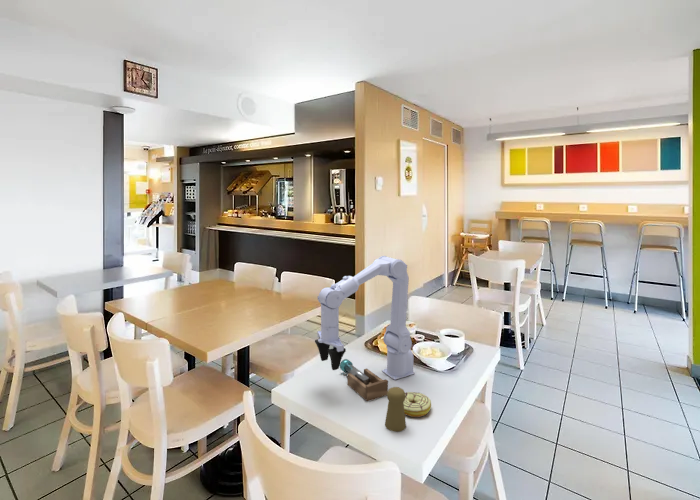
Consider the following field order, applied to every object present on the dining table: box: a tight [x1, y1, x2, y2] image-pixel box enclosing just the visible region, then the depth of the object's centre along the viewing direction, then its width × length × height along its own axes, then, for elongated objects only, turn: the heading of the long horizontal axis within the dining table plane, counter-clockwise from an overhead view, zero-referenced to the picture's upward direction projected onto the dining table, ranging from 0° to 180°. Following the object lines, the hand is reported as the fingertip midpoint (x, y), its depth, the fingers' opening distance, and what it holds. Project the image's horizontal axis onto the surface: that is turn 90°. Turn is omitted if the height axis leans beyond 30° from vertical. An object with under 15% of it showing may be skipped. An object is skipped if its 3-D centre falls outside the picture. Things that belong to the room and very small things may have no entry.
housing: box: [346, 368, 389, 403], centre depth 128 cm, size 13×8×5 cm, turn 31°
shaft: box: [339, 358, 370, 385], centre depth 134 cm, size 14×4×4 cm, turn 31°
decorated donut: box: [403, 391, 432, 418], centre depth 117 cm, size 10×11×4 cm
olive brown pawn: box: [384, 386, 407, 433], centre depth 108 cm, size 6×6×11 cm
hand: (329, 364), depth 124 cm, fingers open, 7 cm apart
